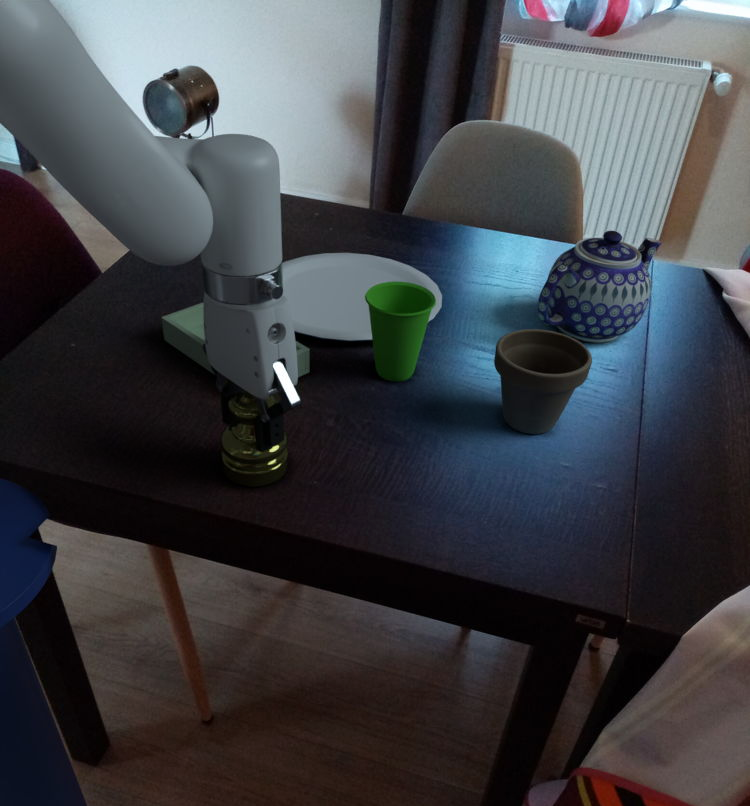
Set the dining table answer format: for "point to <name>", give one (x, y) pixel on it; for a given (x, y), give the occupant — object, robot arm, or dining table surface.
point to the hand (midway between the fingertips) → (253, 430)
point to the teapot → (598, 288)
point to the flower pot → (539, 376)
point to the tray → (189, 337)
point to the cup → (398, 326)
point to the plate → (342, 292)
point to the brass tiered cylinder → (250, 446)
